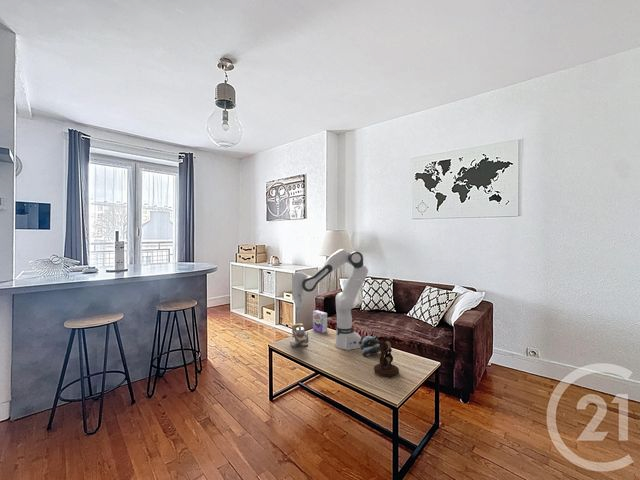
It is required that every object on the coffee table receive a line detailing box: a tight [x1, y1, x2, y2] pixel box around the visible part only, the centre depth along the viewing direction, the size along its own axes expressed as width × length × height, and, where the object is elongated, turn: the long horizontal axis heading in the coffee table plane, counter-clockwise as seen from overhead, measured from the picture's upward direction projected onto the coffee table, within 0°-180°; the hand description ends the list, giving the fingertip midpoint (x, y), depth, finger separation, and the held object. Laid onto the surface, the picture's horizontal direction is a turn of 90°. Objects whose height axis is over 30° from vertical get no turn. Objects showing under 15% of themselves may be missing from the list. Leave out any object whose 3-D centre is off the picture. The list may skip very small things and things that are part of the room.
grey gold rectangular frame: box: [289, 322, 310, 349], centre depth 221 cm, size 12×25×14 cm, turn 13°
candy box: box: [312, 309, 328, 334], centre depth 258 cm, size 14×6×16 cm, turn 37°
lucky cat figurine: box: [359, 334, 381, 358], centre depth 209 cm, size 15×12×14 cm
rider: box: [296, 326, 305, 335], centre depth 220 cm, size 5×5×5 cm
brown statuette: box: [373, 337, 400, 379], centre depth 179 cm, size 15×15×20 cm
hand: (298, 311), depth 227 cm, fingers open, 6 cm apart
